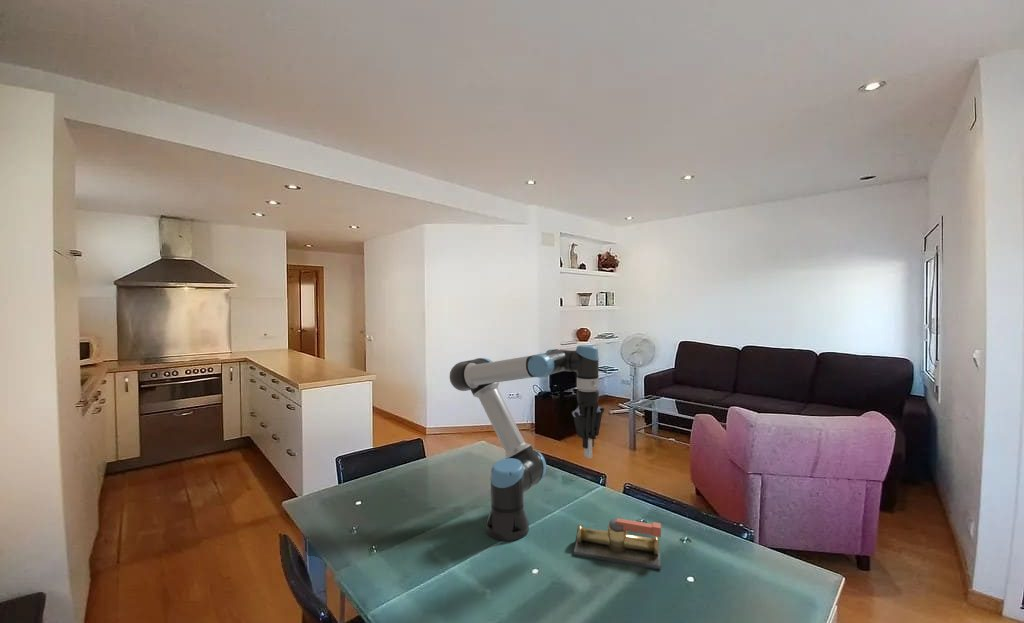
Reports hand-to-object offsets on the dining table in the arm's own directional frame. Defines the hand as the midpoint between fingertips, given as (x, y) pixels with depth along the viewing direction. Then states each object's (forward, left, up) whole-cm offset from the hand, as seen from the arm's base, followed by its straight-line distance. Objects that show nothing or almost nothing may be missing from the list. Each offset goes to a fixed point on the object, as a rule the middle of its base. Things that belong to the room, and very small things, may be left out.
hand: (588, 456), depth 144 cm
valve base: (+10, -8, -26) cm, 29 cm away
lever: (+15, -8, -19) cm, 26 cm away
